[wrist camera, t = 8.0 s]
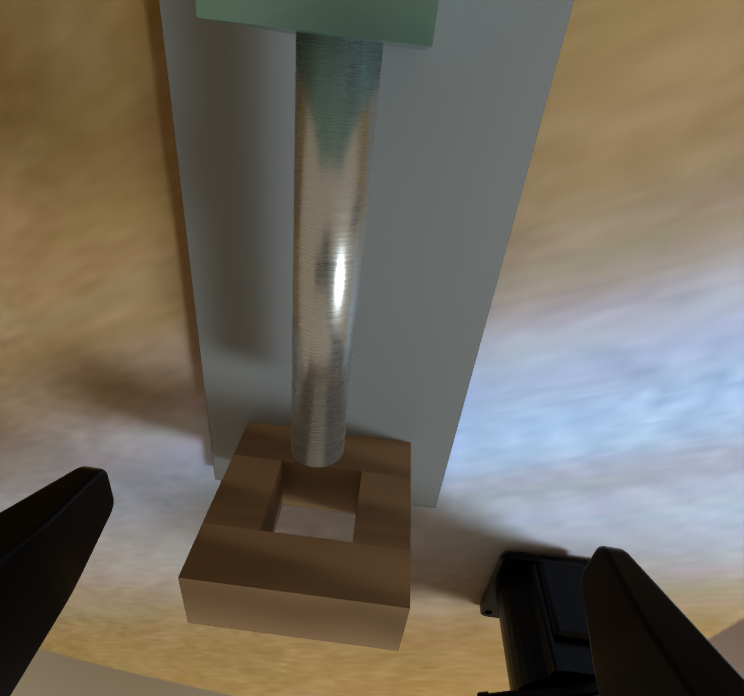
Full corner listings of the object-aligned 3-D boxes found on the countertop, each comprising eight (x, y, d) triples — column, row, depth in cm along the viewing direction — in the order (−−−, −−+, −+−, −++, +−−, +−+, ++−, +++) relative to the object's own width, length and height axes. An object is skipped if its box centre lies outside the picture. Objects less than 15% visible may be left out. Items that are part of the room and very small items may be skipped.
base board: (434, 496, 26) (435, 507, 25) (220, 468, 26) (215, 479, 25) (589, -86, 13) (599, -93, 12) (155, -138, 13) (141, -149, 12)
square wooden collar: (402, 484, 24) (398, 650, 17) (250, 464, 24) (187, 622, 17) (410, 442, 22) (410, 608, 16) (248, 421, 23) (178, 577, 16)
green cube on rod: (376, 394, 21) (361, 529, 15) (287, 382, 21) (237, 512, 15) (450, -141, 12) (488, -344, 6) (291, -159, 12) (163, -383, 6)
